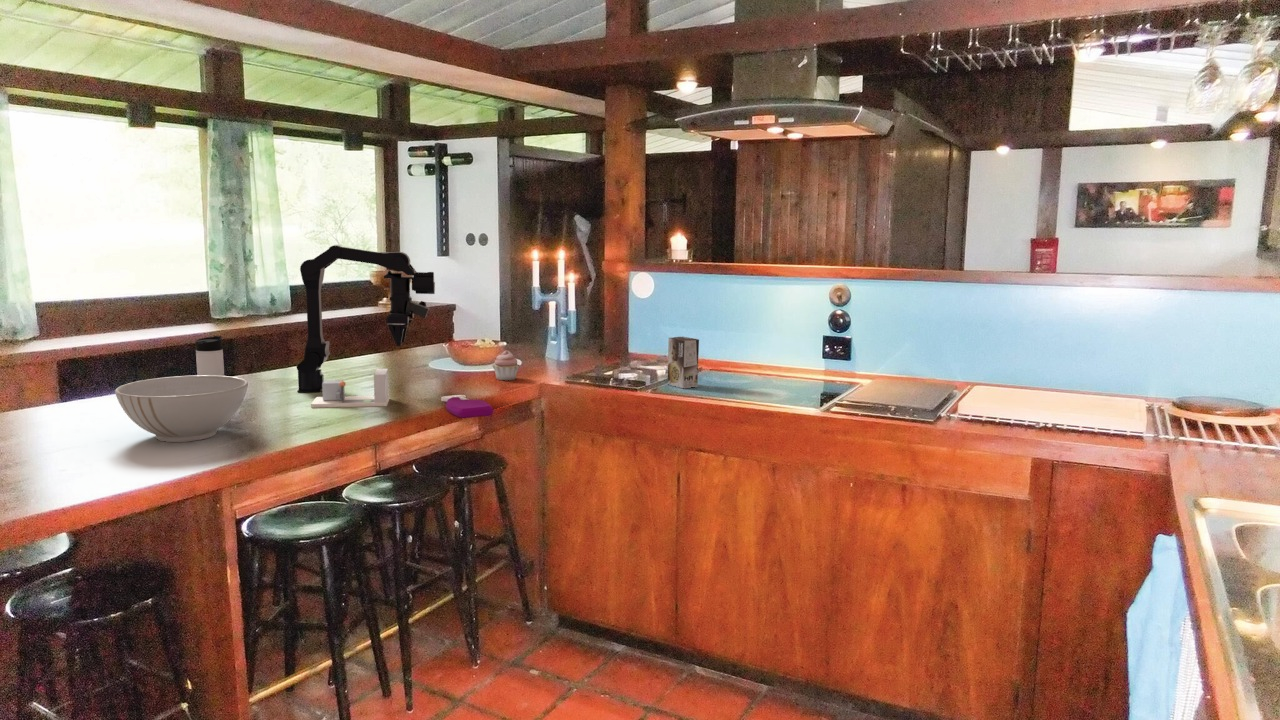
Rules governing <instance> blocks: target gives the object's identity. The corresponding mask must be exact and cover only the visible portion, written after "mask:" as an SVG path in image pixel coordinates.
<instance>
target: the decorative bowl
mask: <svg viewBox="0 0 1280 720" xmlns="http://www.w3.org/2000/svg"><path fill="white" fill-rule="evenodd" d="M248 388H249V382H248V381H247V380H246V379H244V378H241V377H236V376H227V375H224V376H214V375H197V374H196V375H180V376H179V375H177V376H167V377H157V378H150V379H144V380H137V381H133V382H129V383H126V384H123V385H119V386H118V387H117V388H116V389H115V390H114V393H115V397H116V399H117V400H118V403H119V405H120V407H121V408H122V410H123V412H124V413H125V415H126V416H127V417H128V418H129V419H130V420H131V421H132V422H133V423H134V424H136V426H137V427H139V428H141V429H143V430H145V432H148V433H150V434H153V435H155V438H156V440H157V439H158V440H157V441H161V442H164V441H166V443H185V442H195V441H201V440H205V439H208V438H212V437H214V436H215V435H217V433H218V429H220V428H221V427H223V426H224V425H226V424H227V423H228V422H229V421H230V420H231V419H232V418H233V417H234V416H235V415H236V413H237V412H238V411H239V409H240V407H241V406H242V404H243V402H244V400H245V397H246V395H247V391H248Z"/></svg>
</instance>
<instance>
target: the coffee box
mask: <svg viewBox="0 0 1280 720" xmlns="http://www.w3.org/2000/svg"><path fill="white" fill-rule="evenodd" d="M667 342H668V345H667V346H668V349H667V354H668V355H667V360H668V361H667V385H668V384H669V386H671V387H672V386H673V387H675V386H676V388H680V389H683V388H684V389H692V388H691V387H695V388H698V383H699V382H698V381H699V380H698V378H699V377H698V375H699V352H700V351H699V350H700V349H699V347H700V339H699V338H694V337H693V338H692V337H689V336H688V337H687V336H675V337H668V341H667Z"/></svg>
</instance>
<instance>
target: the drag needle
mask: <svg viewBox="0 0 1280 720" xmlns="http://www.w3.org/2000/svg"><path fill="white" fill-rule="evenodd" d="M346 383H347V382H345V381H344V380H343V381H342V382H340V386H341V401H344V400H345V396H346V394H345V387H346Z"/></svg>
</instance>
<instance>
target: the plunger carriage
mask: <svg viewBox="0 0 1280 720" xmlns="http://www.w3.org/2000/svg"><path fill="white" fill-rule="evenodd" d="M342 381H344V379H328V380H327V379H326V380H325V379H324V382H323V383H322V390H321V391H322V393H321V394H322V397H323V400H341V386H340V382H342Z"/></svg>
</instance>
